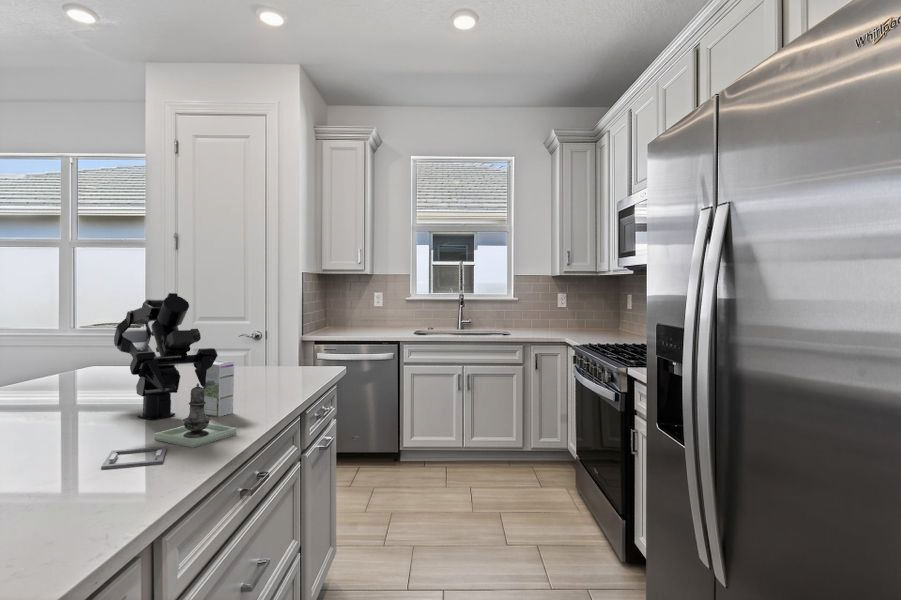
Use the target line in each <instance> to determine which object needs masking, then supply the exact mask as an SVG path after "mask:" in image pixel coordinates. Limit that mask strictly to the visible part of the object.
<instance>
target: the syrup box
mask: <svg viewBox="0 0 901 600" xmlns="http://www.w3.org/2000/svg"><path fill="white" fill-rule="evenodd" d="M234 383H235V362H234V361H226V360H215V361H214V363H213V365H212V366H211V367H210V368H208V369H207V372H206V384H205V386H204V387H202V388H203V389H204V391H205V392H204V401H205V402H206V403H205V404H204V412H205V415H206V416H208V417H215V418H220V417H224V415H225V416H228V415H231V414H233V413H234V393H235V391H234V388H235V387H234V385H235V384H234ZM227 414H228V415H227Z"/></svg>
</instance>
